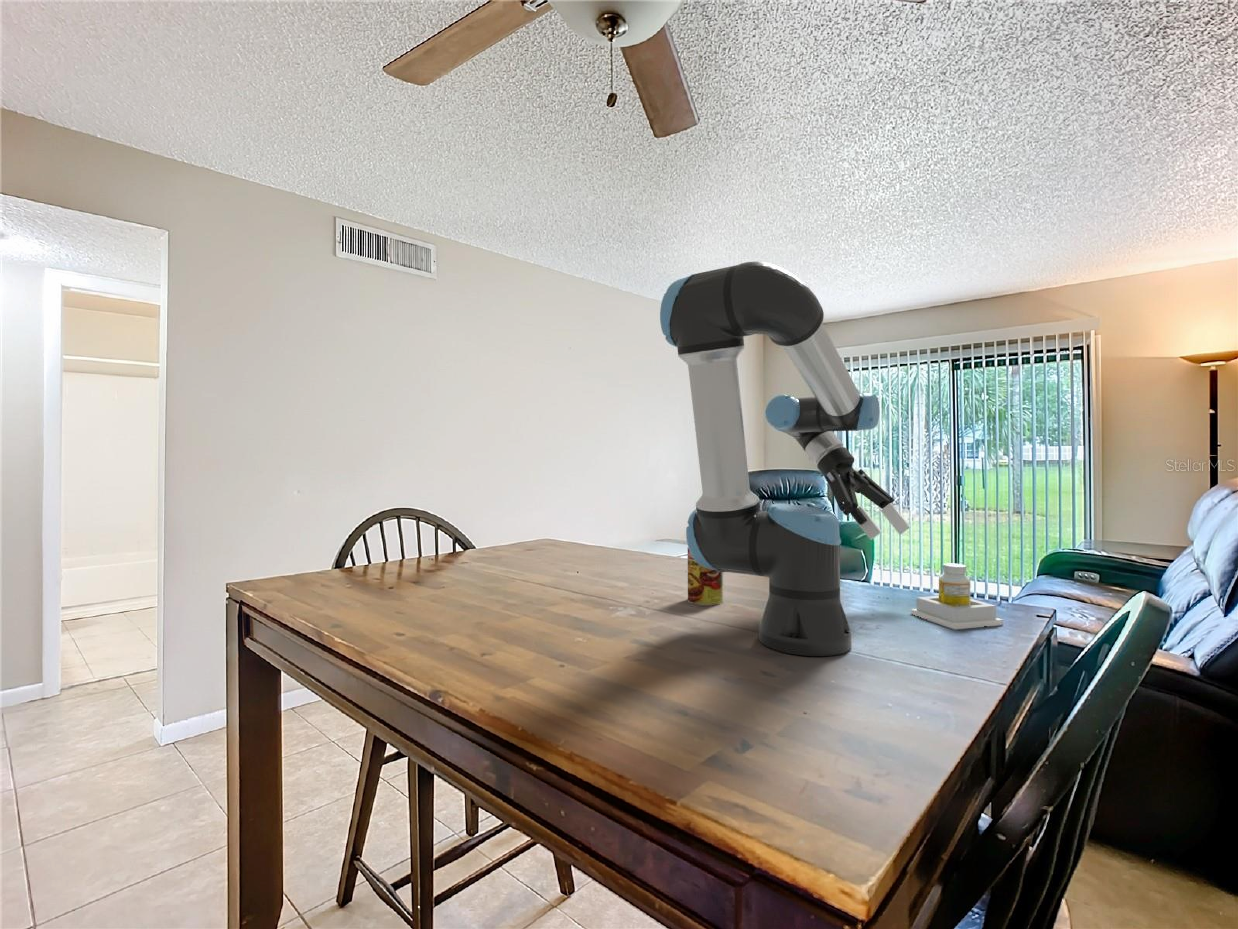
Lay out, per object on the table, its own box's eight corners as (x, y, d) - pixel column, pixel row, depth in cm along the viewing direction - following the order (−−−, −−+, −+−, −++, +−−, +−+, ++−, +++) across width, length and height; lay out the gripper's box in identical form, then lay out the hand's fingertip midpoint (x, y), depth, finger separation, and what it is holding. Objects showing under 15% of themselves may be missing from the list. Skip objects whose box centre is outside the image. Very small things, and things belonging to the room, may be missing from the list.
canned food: (682, 598, 133) (682, 545, 133) (714, 595, 134) (714, 544, 134) (695, 606, 125) (695, 550, 125) (729, 604, 127) (729, 549, 127)
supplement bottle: (966, 619, 110) (966, 568, 109) (935, 614, 113) (935, 565, 113) (973, 613, 114) (973, 564, 113) (943, 608, 117) (943, 561, 117)
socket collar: (954, 629, 107) (954, 610, 107) (910, 614, 117) (910, 596, 117) (1002, 625, 109) (1002, 606, 109) (956, 610, 120) (955, 593, 120)
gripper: (845, 466, 142) (903, 538, 132) (788, 467, 126) (848, 549, 115) (868, 446, 138) (929, 518, 127) (812, 444, 121) (877, 527, 111)
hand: (891, 533), depth 121 cm, fingers open, 13 cm apart
